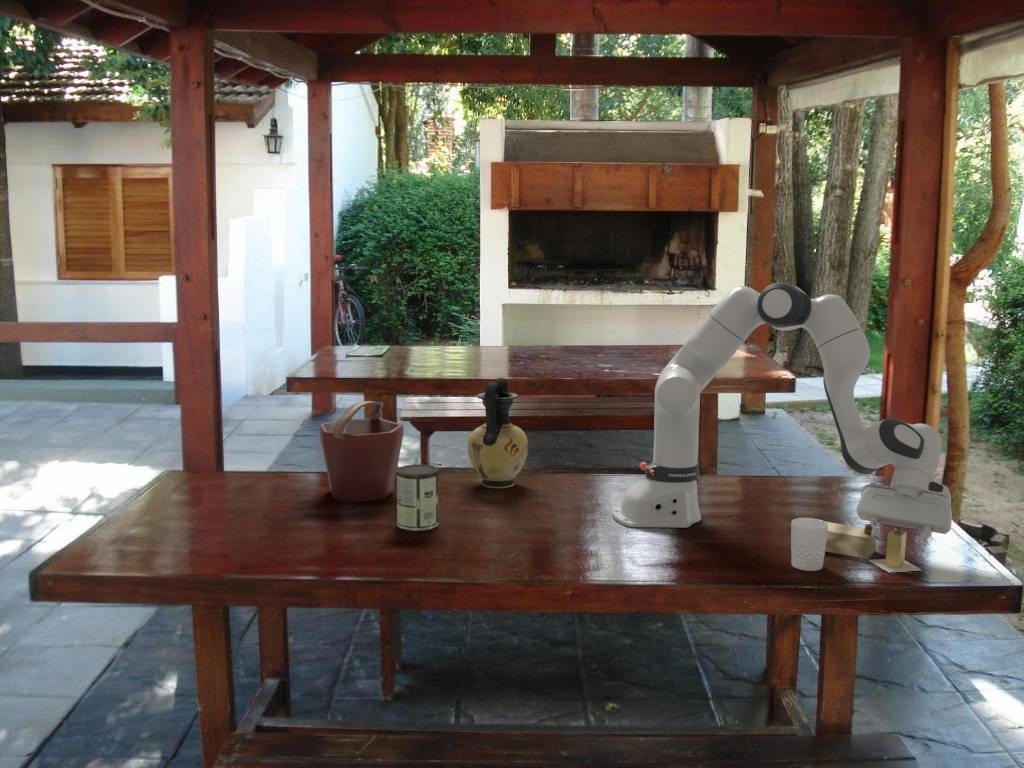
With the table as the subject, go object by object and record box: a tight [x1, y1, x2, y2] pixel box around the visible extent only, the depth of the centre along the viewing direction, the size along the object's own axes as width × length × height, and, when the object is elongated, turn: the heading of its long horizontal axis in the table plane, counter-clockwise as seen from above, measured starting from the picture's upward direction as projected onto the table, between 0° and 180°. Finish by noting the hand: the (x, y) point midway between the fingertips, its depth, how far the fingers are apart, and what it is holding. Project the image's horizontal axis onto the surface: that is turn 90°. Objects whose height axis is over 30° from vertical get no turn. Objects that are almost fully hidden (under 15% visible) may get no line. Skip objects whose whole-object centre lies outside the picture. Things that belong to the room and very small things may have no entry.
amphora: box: [467, 377, 529, 489], centre depth 301 cm, size 18×17×30 cm
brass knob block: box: [885, 527, 908, 569], centre depth 239 cm, size 3×4×8 cm, turn 147°
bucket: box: [318, 400, 404, 503], centre depth 290 cm, size 24×22×25 cm
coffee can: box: [396, 464, 439, 532], centre depth 264 cm, size 10×10×14 cm
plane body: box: [825, 521, 878, 560], centre depth 250 cm, size 14×7×7 cm, turn 57°
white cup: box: [790, 517, 828, 572], centre depth 238 cm, size 8×8×10 cm
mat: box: [868, 558, 922, 574], centre depth 239 cm, size 8×8×1 cm
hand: (896, 541), depth 238 cm, fingers open, 8 cm apart
